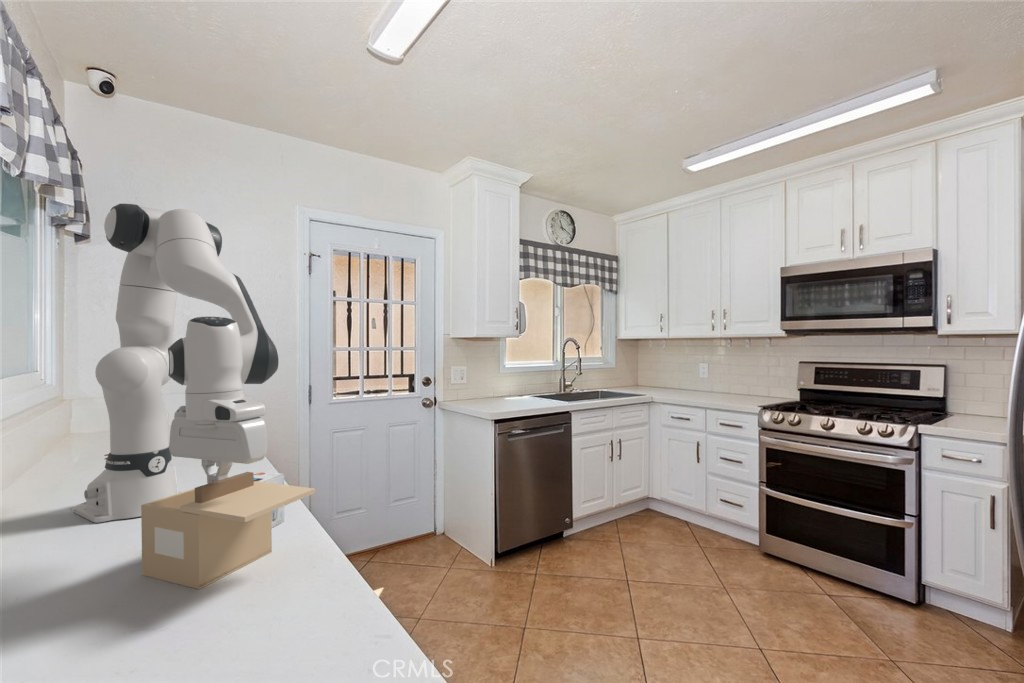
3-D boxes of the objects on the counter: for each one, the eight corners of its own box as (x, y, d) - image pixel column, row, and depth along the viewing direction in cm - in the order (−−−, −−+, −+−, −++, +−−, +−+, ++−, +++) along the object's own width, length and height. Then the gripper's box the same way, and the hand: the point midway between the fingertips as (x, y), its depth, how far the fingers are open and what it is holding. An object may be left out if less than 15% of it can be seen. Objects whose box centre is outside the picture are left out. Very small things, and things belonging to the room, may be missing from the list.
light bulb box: (250, 541, 93) (249, 487, 93) (221, 538, 95) (220, 485, 94) (286, 520, 104) (285, 472, 104) (259, 518, 105) (259, 470, 105)
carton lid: (180, 511, 76) (179, 491, 76) (255, 485, 90) (255, 468, 90) (244, 522, 71) (244, 501, 71) (314, 493, 85) (314, 475, 85)
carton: (141, 575, 80) (140, 505, 80) (218, 541, 93) (217, 481, 93) (198, 589, 75) (197, 515, 75) (271, 551, 88) (270, 488, 88)
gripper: (157, 407, 84) (159, 484, 84) (241, 411, 77) (243, 495, 77) (192, 402, 90) (194, 474, 90) (272, 406, 83) (274, 483, 83)
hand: (217, 484), depth 84 cm, fingers closed
